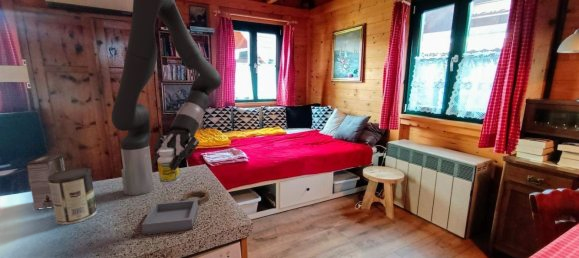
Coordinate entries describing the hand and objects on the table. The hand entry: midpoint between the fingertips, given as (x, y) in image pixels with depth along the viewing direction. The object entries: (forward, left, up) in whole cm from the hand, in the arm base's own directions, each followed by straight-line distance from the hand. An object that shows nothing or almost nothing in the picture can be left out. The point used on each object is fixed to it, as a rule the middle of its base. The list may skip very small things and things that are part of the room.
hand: (163, 167), depth 76 cm
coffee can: (-29, +10, -17) cm, 36 cm away
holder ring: (+6, +14, -17) cm, 23 cm away
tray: (+1, +1, -17) cm, 17 cm away
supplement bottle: (+1, +2, -5) cm, 5 cm away
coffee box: (-42, +22, -17) cm, 51 cm away
